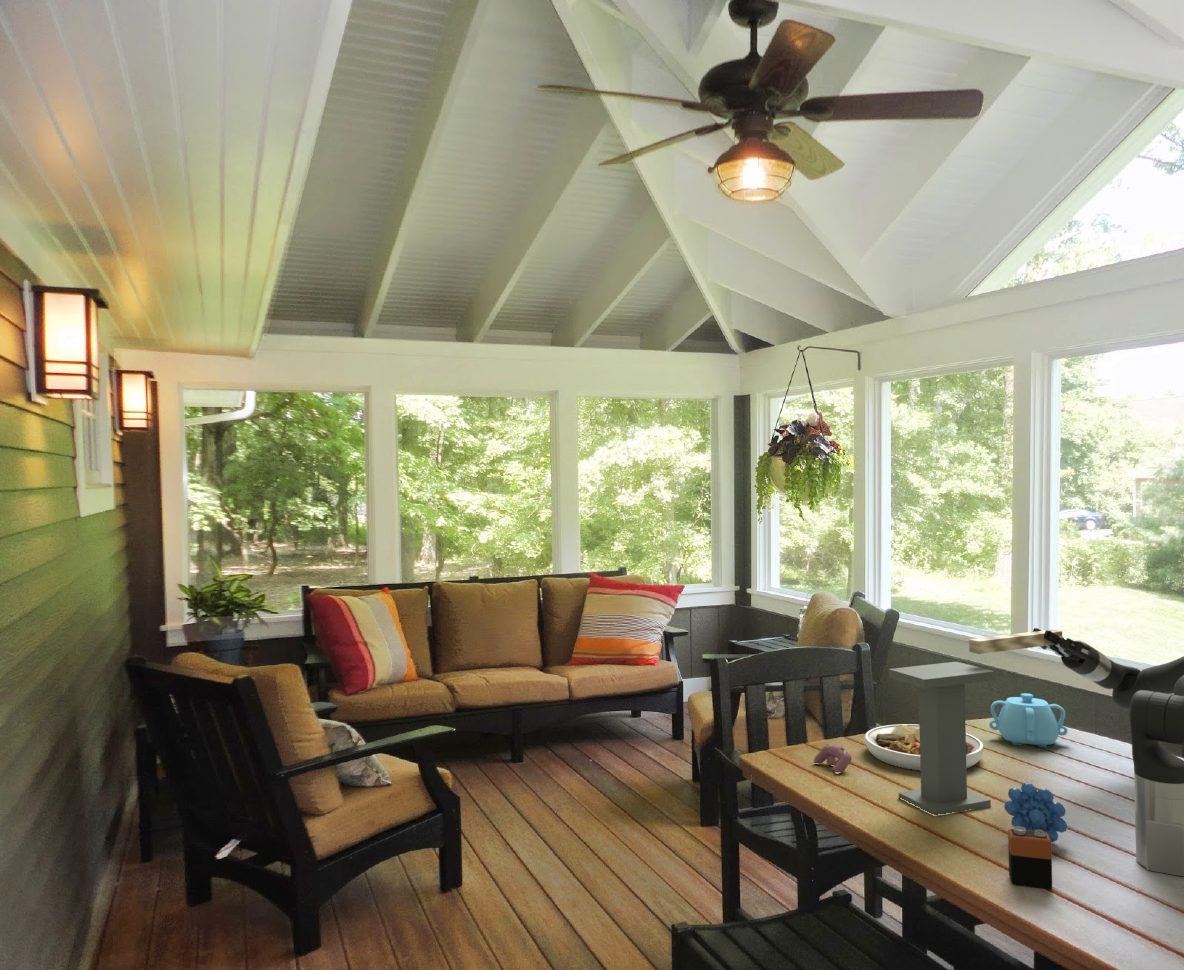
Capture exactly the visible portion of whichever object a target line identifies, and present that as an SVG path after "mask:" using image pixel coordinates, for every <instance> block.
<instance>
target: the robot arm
mask: <svg viewBox="0 0 1184 970" xmlns="http://www.w3.org/2000/svg"><path fill="white" fill-rule="evenodd" d="M1045 630H1046V631H1045V634H1044V638H1045V639H1046V640H1048V641H1050V642H1051V643H1053V644H1055V645H1047V646H1039V648H1041V649H1042V650H1049V651H1052V652H1053V653H1054V654H1056V655H1057V656H1059V657H1060V659H1061V662H1062V664H1063V665H1064V666H1065V667H1066V668H1068V669H1070V670H1071V671H1073V672H1075V673H1076V674H1078V675H1079V676H1082V678H1085V679H1087V680H1090V681H1091V682H1093V683H1095V684H1096V685H1098V686H1100V687H1101V688H1103V689H1107V690H1112V695H1111V696H1112V699H1113V702H1114V703H1115V704H1116V705H1117V706H1119V707H1120V708H1123V709H1127V710H1128V709H1129V712H1128V713H1129V726H1130V727H1129V729H1130V739H1131V756H1132V762H1133V773H1134V774H1133V777H1134V778H1133V782H1134V783H1133V784H1134V785H1133V786H1134V789H1133V791H1134V824H1135V825H1134V828H1135V829H1134V830H1135V832H1134V833H1135V860H1136V862H1137V863H1139V864H1140V865H1141V866H1143V867H1144V868H1145V869H1146V870H1147V871H1151V872H1158V873H1162V874H1169V875H1173V876H1179V877H1184V759H1182V758H1180V757H1178V756H1176V755H1174V754H1173V753H1172V752H1169V751H1168V750H1166V749H1165V747H1163V746H1162V745H1161V744H1160V742H1163V743H1167V744H1168V743H1169V744H1173V745H1184V656H1181V657H1178V658H1176V659H1174V660H1172V661H1169V662H1166V663H1162V664H1159V665H1154V666H1151V667H1146V668H1143V669H1142V670H1140V669H1139V668H1138V667H1137V668H1136V667H1134V666H1133V667H1132V666H1127V665H1123V664H1120V663H1117V662H1115V661H1113V660H1112V659H1110V658H1109V657H1107V656H1106V655H1105V654H1103V653H1102V652H1100V651H1099V650H1097V649H1095V647H1093V646H1091V645H1089V643H1086V642H1085V641H1082V640H1073V639H1071V638H1068V637H1067V638H1065V637H1063V635H1062V636H1058V635H1056V634H1054V633H1053V632H1051V631H1049V630H1050V629H1045ZM1036 631H1042V630H1041V629H1039V628H1037V627H1034V628H1033V630H1032V632H1036Z"/></svg>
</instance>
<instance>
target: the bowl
mask: <svg viewBox="0 0 1184 970" xmlns="http://www.w3.org/2000/svg"><path fill="white" fill-rule="evenodd" d="M864 735H865V736H864V739H865V745H866V748H867V750H868V751H869V752H870V754H872V755H873V756H874V757H875V758H876V759H878V760H879V761H882V762H883V763H886V764H888V765H890V764H891V766H893V765H894V767H897V766H898V767H897V768H900V767H901V769H905V768H906V770H910V769H912V770H911V771H917V770H919V771H918V772H921V769H920V725H919V724H915V723H913V724H912V723H911V724H907V723H905V724H904V723H903V724H902V723H901V724H888V725H883V726H882V725H881V726H878V727H874V728H872V729H871V728H870V730H868V731H866V733H865V734H864ZM983 753H984V743H983V742H982V741H981V740H980V739H979V738H977V737H976V736H974V735H972V734H969V733H967V732H966V769H968V768H971V767H973V766H975V765H976V764H978V762H979V761H980V760H981V759H982V756H983Z"/></svg>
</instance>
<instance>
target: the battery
mask: <svg viewBox="0 0 1184 970" xmlns="http://www.w3.org/2000/svg"><path fill="white" fill-rule="evenodd" d="M1007 839H1008V840H1007V841H1008V844H1007V845H1008V875H1009V878H1010V882H1011V884H1012V885H1014V886H1018V887H1019V886H1020V887H1027V888H1028V887H1029V888H1036V889H1043V890H1044V889H1045V890H1052V889H1053V860H1052V858H1053V857H1052V856H1053V855H1052V853H1053V852H1052V851H1053V850H1052V849H1053V848H1052V842H1051V840H1050V838H1049V836H1048V834H1047V833H1046V832H1044V831H1043V830H1035V831H1029V830H1025V828H1023V827H1019V826H1017V827H1014V826H1013V828H1009V829H1008V830H1007Z"/></svg>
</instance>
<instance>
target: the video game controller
mask: <svg viewBox="0 0 1184 970" xmlns="http://www.w3.org/2000/svg"><path fill="white" fill-rule="evenodd" d="M836 758H837V759H836ZM852 759H853V758H852V755H851V753H849V752H848V751H847V750H846V749H845V748H844V747H842V746H840V745H837V744H828V743H827V744H826V745H824V746H823V747H822V748H821V750H820V751H819V752H818V753H817V754H816V756H814V758H813V764H814V763H821V764H822V763H824V762H826V765H828V764H829V765H834V766H833V767H834V769H833V772H842V773H843V772H844V771H845V770H846V768H848V766H849V765H850V764H851V762H852ZM829 765H828V766H829Z"/></svg>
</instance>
